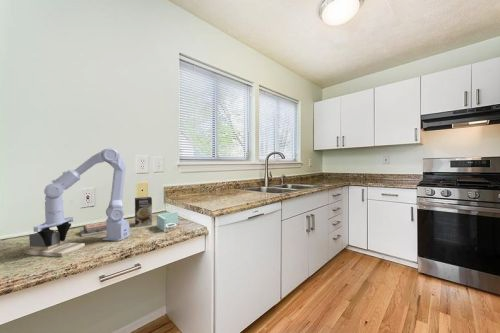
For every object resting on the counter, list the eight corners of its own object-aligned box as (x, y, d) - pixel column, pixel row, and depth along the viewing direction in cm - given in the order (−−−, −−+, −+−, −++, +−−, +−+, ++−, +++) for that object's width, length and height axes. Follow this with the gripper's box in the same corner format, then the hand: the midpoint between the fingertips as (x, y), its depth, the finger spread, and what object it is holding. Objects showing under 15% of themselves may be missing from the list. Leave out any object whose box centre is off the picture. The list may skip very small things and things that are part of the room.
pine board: (84, 246, 96) (84, 243, 96) (62, 256, 86) (61, 253, 86) (50, 244, 98) (50, 241, 98) (24, 254, 88) (24, 250, 88)
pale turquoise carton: (164, 233, 115) (164, 219, 115) (157, 227, 124) (156, 214, 124) (185, 228, 123) (185, 215, 123) (177, 223, 132) (177, 211, 132)
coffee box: (135, 227, 124) (134, 199, 123) (134, 224, 129) (134, 197, 129) (152, 224, 128) (152, 197, 127) (151, 222, 134) (151, 196, 133)
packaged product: (118, 218, 127) (122, 221, 120) (118, 226, 127) (122, 230, 120) (79, 224, 115) (81, 228, 108) (80, 233, 115) (81, 238, 108)
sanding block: (60, 244, 95) (59, 232, 94) (47, 249, 90) (47, 236, 90) (42, 243, 96) (42, 231, 96) (29, 247, 91) (29, 235, 91)
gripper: (63, 207, 99) (64, 236, 100) (26, 215, 85) (27, 249, 85) (76, 208, 98) (77, 237, 99) (41, 216, 84) (42, 250, 84)
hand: (55, 243), depth 92 cm, fingers open, 5 cm apart
